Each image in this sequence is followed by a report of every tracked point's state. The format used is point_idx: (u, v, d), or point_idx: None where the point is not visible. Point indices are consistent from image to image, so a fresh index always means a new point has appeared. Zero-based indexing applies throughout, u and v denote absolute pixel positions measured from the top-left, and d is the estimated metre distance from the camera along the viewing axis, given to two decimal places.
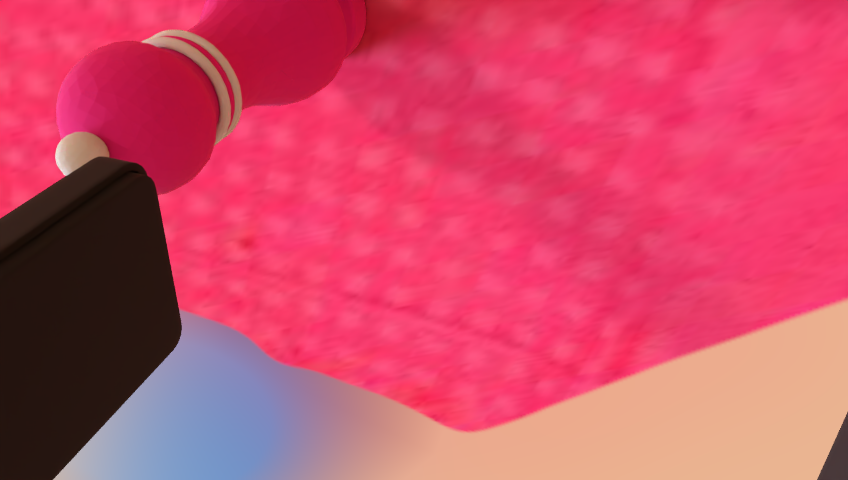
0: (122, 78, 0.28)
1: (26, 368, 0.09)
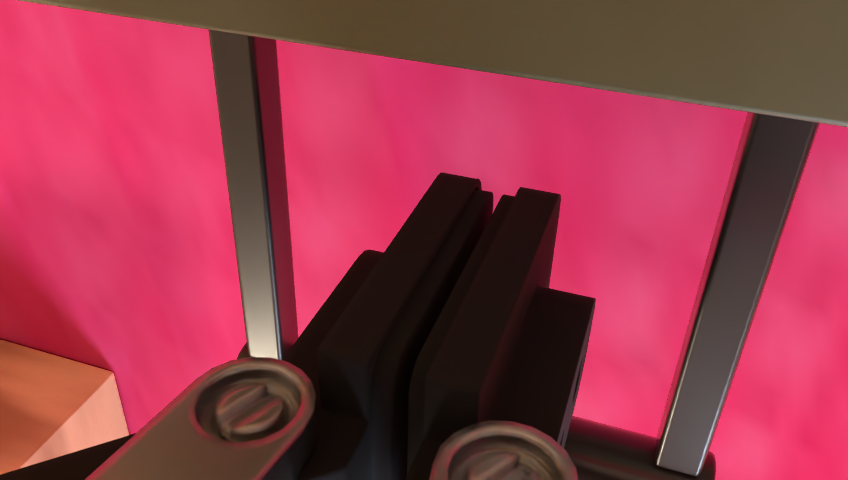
0: None
1: None
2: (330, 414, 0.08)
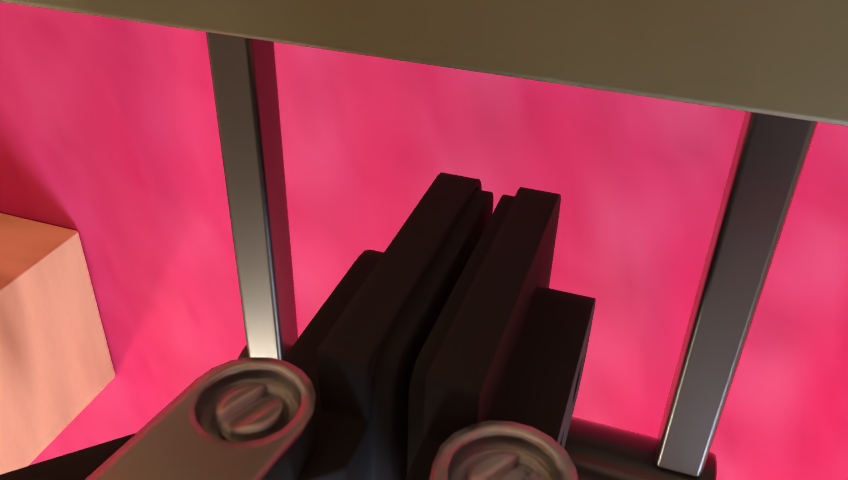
0: None
1: None
2: (330, 414, 0.08)
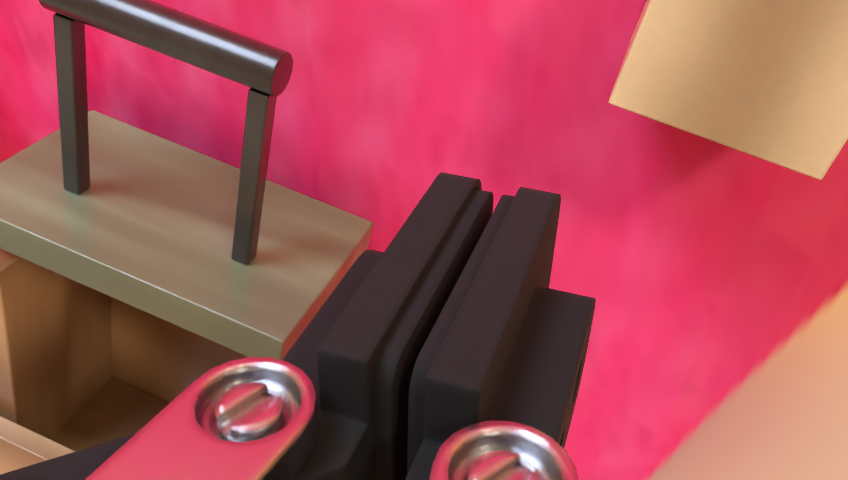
0: None
1: None
2: (330, 414, 0.08)
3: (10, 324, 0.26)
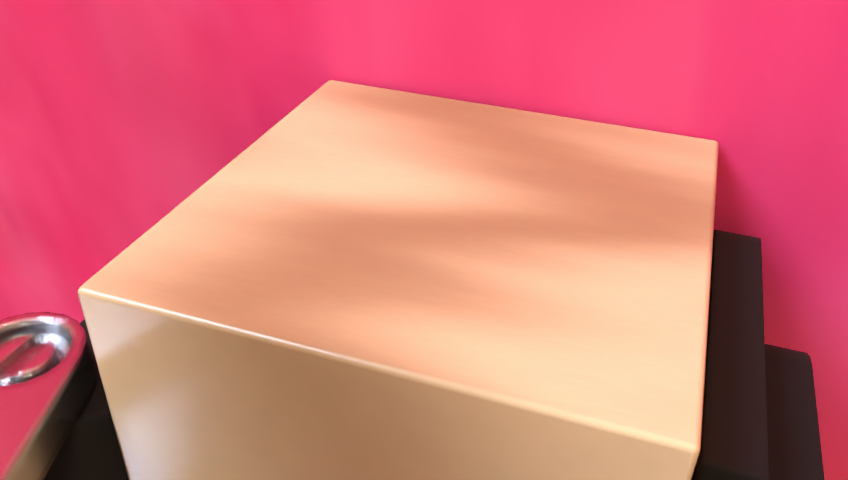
0: None
1: None
2: None
3: None
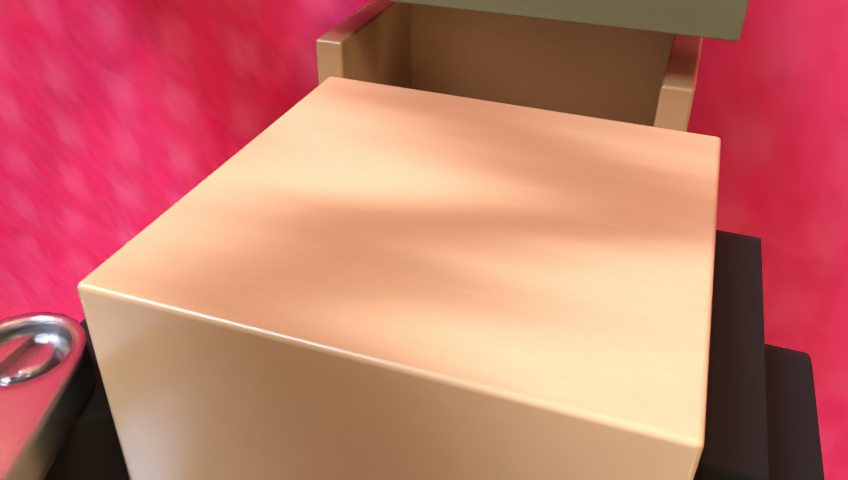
0: None
1: None
2: None
3: None
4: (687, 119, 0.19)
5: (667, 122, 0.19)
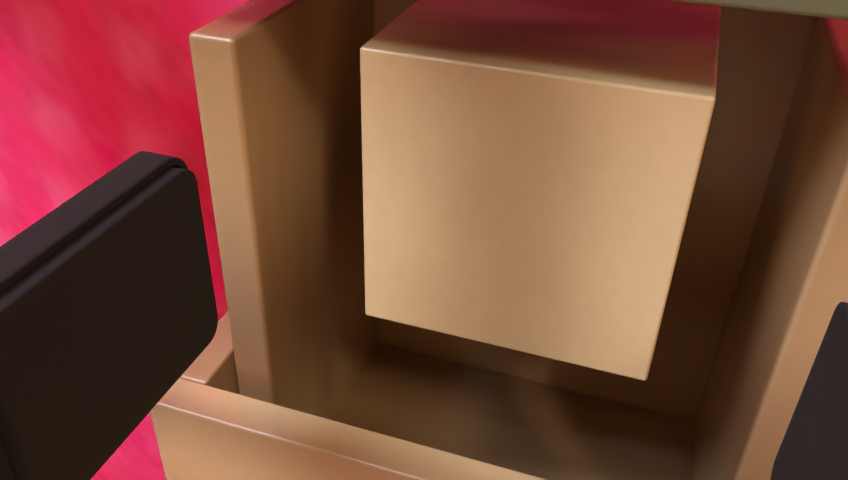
0: None
1: (77, 358, 0.09)
2: None
3: (256, 182, 0.13)
4: None
5: None
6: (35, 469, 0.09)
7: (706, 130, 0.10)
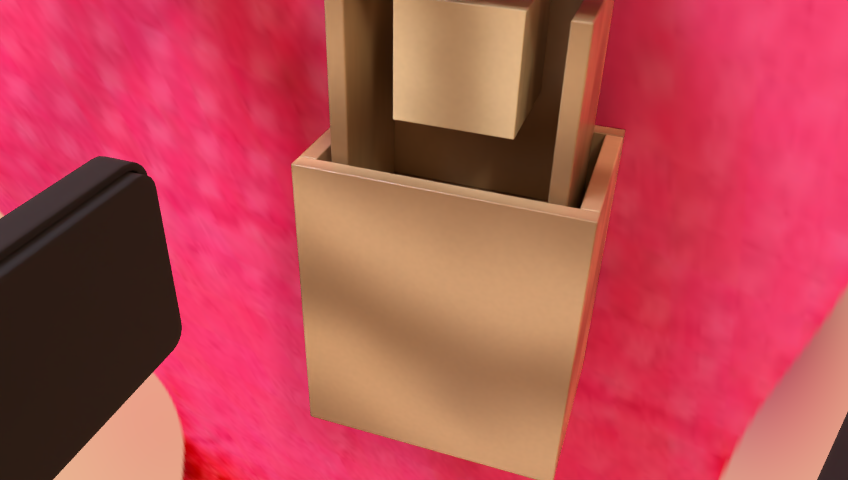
0: None
1: (26, 368, 0.09)
2: None
3: (347, 55, 0.30)
4: (590, 44, 0.27)
5: (576, 47, 0.27)
6: None
7: (524, 23, 0.28)
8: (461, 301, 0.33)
